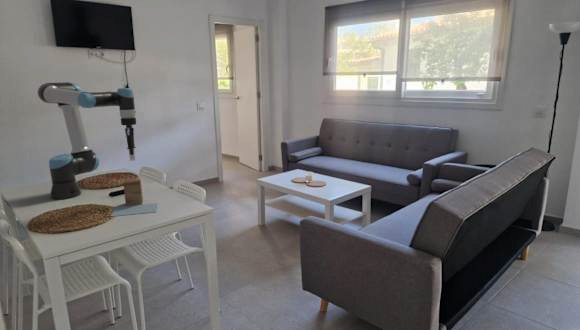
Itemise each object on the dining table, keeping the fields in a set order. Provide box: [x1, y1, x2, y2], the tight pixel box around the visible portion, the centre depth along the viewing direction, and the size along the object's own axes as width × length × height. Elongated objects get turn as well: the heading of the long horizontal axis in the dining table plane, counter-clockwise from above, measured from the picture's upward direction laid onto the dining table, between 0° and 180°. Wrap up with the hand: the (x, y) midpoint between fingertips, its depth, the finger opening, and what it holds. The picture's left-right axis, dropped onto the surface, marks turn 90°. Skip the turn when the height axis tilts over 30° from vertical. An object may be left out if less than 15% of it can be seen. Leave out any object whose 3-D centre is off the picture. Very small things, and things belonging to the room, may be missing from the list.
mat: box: [111, 202, 158, 217], centre depth 186 cm, size 14×24×1 cm, turn 107°
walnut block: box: [122, 178, 144, 206], centre depth 195 cm, size 5×8×13 cm, turn 107°
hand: (132, 160), depth 200 cm, fingers closed
